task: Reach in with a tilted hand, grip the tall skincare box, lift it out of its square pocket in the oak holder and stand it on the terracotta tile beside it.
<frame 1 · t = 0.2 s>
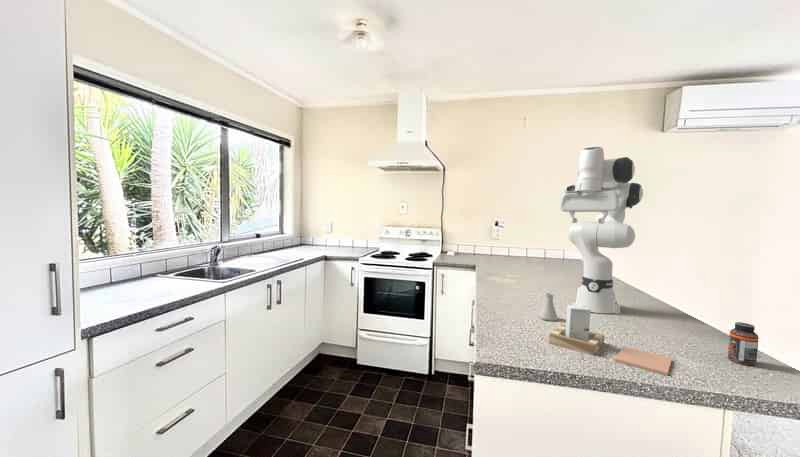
hand: (587, 223, 132), 39 cm above the counter, tool pointing down, fingers open, 8 cm apart
pocket holder: (576, 343, 111), on the counter
supplement bottle: (741, 362, 100), on the counter
skincare box: (576, 344, 111), resting in pocket holder
terracotta tile: (643, 360, 99), on the counter
flask: (548, 319, 136), on the counter
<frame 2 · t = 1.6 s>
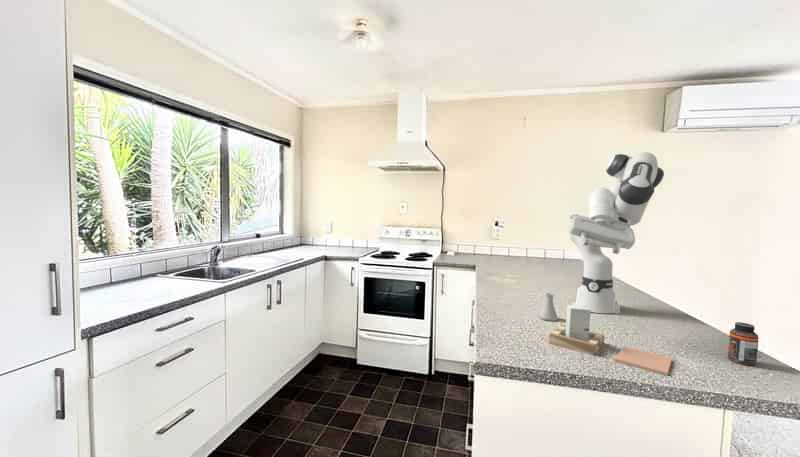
hand: (600, 248, 114), 31 cm above the counter, tool tilted 50°, fingers open, 8 cm apart
nothing on the counter moved.
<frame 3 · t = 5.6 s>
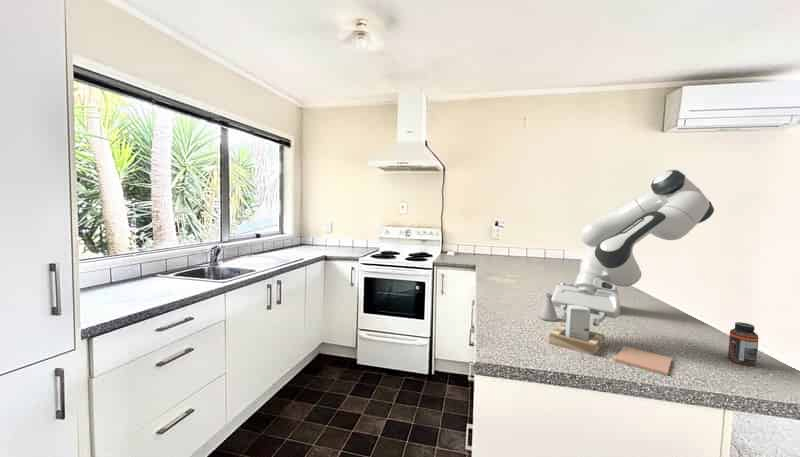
hand: (579, 321, 110), 7 cm above the counter, tool tilted 45°, fingers open, 8 cm apart
nothing on the counter moved.
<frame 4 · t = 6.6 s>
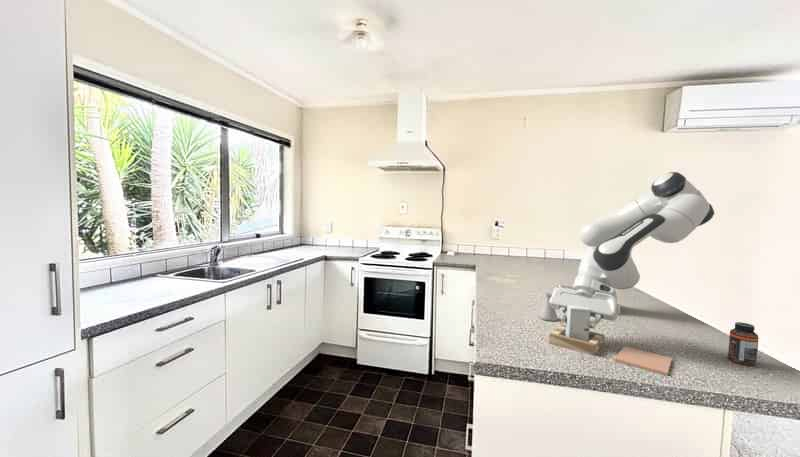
hand: (577, 324, 110), 7 cm above the counter, tool tilted 45°, fingers closed on skincare box, 7 cm apart
skincare box: (576, 344, 111), resting in pocket holder, touching gripper
everything else where it was.
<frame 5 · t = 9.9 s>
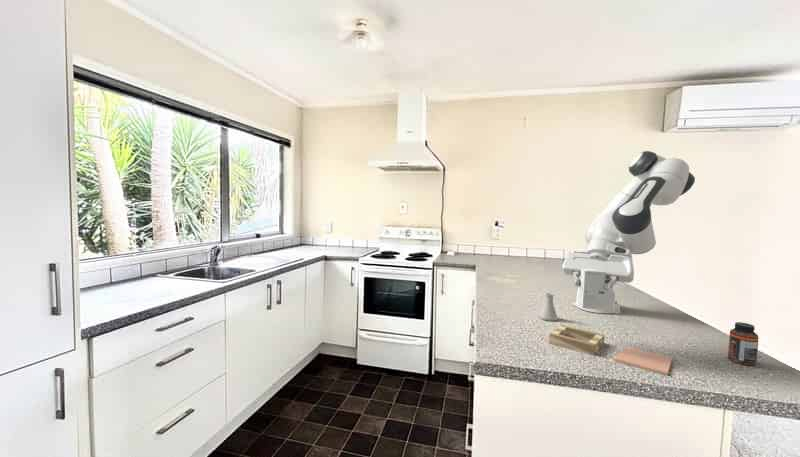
hand: (591, 287, 107), 19 cm above the counter, tool tilted 45°, fingers closed on skincare box, 7 cm apart
skincare box: (590, 308, 108), point 12 cm above the counter, touching gripper
everything else where it was.
when the fingers open (9 cm above the counter, at t = 13.6 s): skincare box stays where it is, resting on terracotta tile.
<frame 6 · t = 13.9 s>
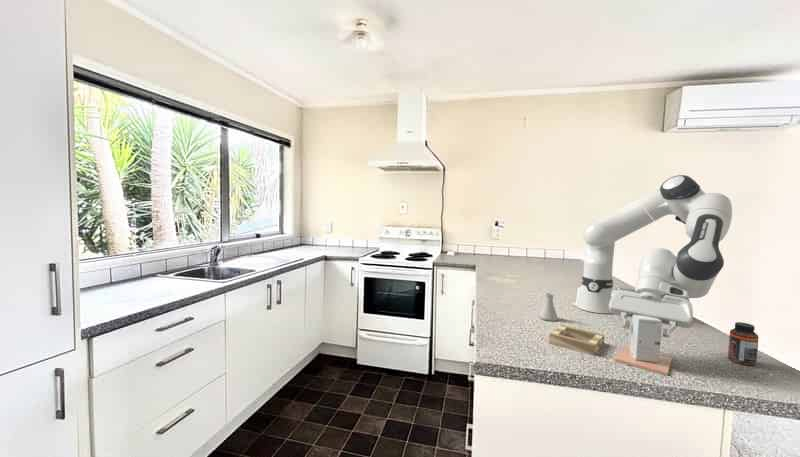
hand: (645, 331, 98), 9 cm above the counter, tool tilted 45°, fingers open, 8 cm apart
skincare box: (644, 359, 99), point 1 cm above the counter, touching terracotta tile
everything else where it was.
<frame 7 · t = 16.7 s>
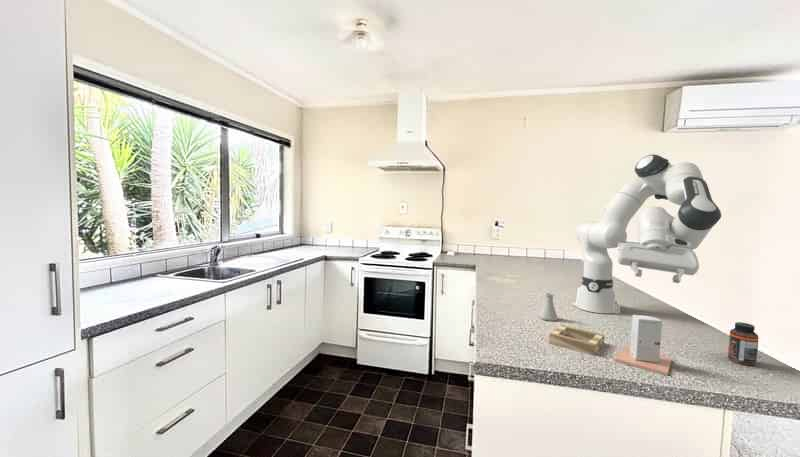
hand: (657, 278, 102), 23 cm above the counter, tool tilted 50°, fingers open, 8 cm apart
nothing on the counter moved.
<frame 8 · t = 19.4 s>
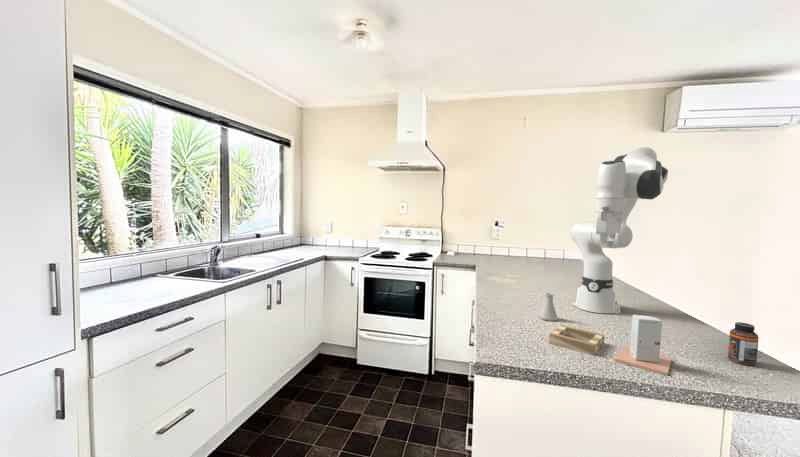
hand: (607, 246, 118), 31 cm above the counter, tool pointing down, fingers open, 8 cm apart
nothing on the counter moved.
at the end: skincare box inside the target area (0.1 cm from its centre), point 0.6 cm above the counter; skincare box tilted 0°; the gripper is holding nothing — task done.
